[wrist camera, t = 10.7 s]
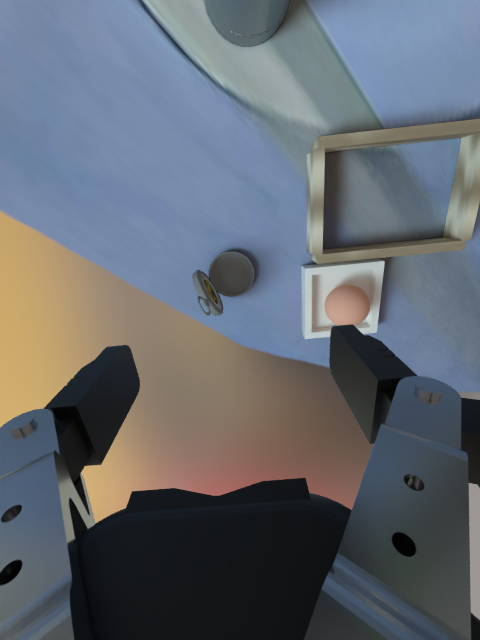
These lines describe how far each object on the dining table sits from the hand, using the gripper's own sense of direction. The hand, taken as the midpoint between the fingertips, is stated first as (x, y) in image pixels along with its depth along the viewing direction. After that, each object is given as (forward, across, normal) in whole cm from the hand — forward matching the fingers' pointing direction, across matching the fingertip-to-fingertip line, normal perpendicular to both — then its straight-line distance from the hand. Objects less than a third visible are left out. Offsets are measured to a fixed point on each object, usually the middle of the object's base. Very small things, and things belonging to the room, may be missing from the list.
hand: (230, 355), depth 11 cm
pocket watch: (+30, +2, +4) cm, 31 cm away
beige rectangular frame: (+30, -20, -4) cm, 37 cm away
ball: (+29, -15, +9) cm, 34 cm away
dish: (+30, -15, +9) cm, 35 cm away
